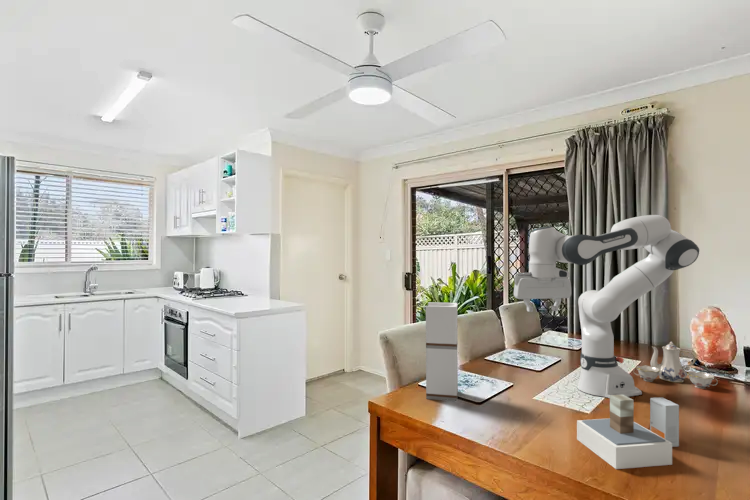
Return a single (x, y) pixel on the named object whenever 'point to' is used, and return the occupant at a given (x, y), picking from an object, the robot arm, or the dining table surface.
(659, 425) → the skincare box
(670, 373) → the chinaware
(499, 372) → the dining table surface
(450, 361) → the banded white tower
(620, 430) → the block
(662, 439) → the block
